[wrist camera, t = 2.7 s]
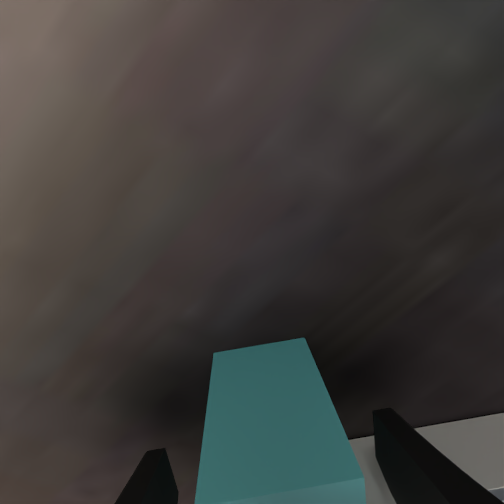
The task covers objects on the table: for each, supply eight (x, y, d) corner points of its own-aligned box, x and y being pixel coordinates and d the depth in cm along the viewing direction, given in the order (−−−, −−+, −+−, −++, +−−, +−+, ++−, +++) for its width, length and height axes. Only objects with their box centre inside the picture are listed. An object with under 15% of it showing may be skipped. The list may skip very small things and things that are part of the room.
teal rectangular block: (304, 337, 12) (364, 477, 7) (313, 411, 13) (371, 589, 8) (213, 352, 12) (193, 507, 7) (229, 425, 13) (225, 615, 8)
